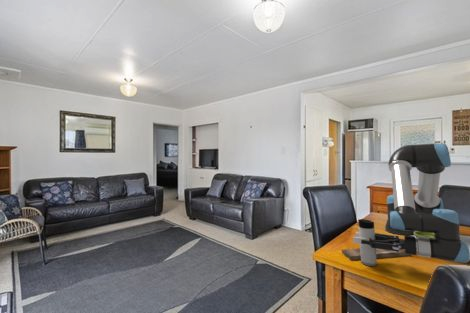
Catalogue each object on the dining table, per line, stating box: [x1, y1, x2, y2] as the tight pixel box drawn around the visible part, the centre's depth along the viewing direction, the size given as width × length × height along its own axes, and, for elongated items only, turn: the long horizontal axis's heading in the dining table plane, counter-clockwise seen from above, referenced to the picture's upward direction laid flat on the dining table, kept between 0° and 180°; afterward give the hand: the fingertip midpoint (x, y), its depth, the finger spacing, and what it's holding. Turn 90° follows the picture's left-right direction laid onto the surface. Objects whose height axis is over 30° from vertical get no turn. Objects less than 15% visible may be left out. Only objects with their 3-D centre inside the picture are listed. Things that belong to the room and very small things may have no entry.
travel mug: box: [357, 218, 378, 267], centre depth 107 cm, size 6×7×20 cm
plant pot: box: [413, 231, 435, 239], centre depth 116 cm, size 9×9×9 cm
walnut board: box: [341, 247, 412, 261], centre depth 115 cm, size 30×8×2 cm, turn 94°
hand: (354, 237), depth 110 cm, fingers closed on travel mug, 6 cm apart
